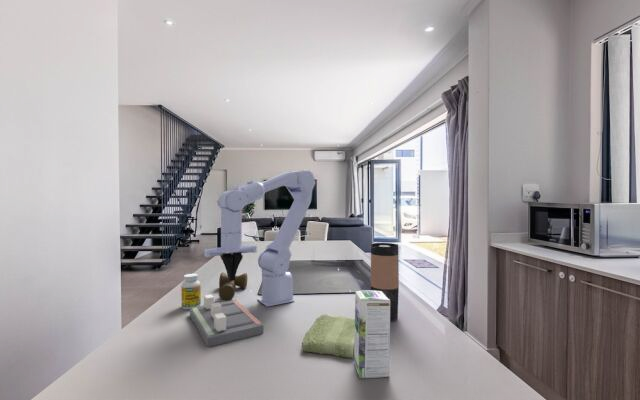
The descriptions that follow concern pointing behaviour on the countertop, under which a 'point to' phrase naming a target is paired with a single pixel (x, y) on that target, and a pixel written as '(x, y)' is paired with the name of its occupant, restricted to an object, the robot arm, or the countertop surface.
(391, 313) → the travel mug
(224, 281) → the kendama
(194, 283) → the supplement bottle
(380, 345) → the syrup box
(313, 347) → the washcloth
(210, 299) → the handle right
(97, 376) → the countertop surface
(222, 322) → the handle
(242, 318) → the switch panel
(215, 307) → the handle middle
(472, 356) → the countertop surface
